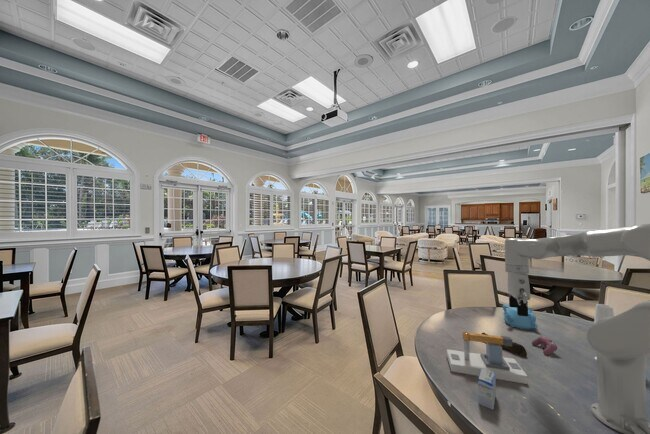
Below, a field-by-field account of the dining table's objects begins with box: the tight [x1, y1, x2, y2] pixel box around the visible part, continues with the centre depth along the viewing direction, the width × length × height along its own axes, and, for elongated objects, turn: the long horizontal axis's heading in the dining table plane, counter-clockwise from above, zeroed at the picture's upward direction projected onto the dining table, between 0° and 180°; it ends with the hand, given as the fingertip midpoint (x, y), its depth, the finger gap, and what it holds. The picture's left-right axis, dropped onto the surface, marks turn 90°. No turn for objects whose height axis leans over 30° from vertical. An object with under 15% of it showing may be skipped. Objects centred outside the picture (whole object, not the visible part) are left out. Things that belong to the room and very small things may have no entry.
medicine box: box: [477, 368, 497, 411], centre depth 84 cm, size 8×4×9 cm, turn 141°
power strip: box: [446, 339, 529, 385], centre depth 102 cm, size 12×26×11 cm, turn 71°
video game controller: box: [531, 335, 558, 356], centre depth 115 cm, size 10×5×7 cm, turn 169°
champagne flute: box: [593, 303, 615, 361], centre depth 106 cm, size 7×7×24 cm
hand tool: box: [481, 332, 528, 357], centre depth 118 cm, size 19×4×5 cm, turn 28°
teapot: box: [502, 304, 538, 330], centre depth 143 cm, size 15×17×11 cm
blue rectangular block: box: [485, 343, 503, 365], centre depth 100 cm, size 4×4×8 cm
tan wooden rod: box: [462, 331, 513, 347], centre depth 101 cm, size 3×17×3 cm, turn 71°
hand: (518, 311), depth 97 cm, fingers open, 9 cm apart
